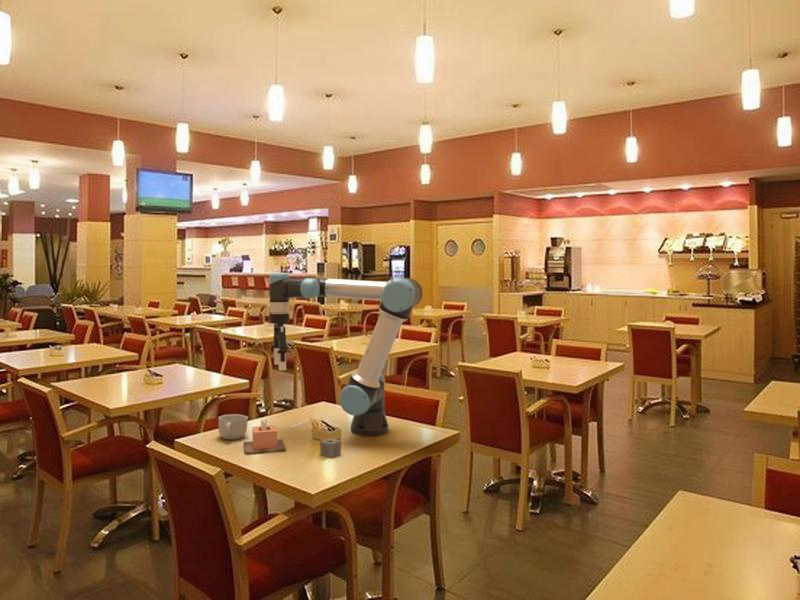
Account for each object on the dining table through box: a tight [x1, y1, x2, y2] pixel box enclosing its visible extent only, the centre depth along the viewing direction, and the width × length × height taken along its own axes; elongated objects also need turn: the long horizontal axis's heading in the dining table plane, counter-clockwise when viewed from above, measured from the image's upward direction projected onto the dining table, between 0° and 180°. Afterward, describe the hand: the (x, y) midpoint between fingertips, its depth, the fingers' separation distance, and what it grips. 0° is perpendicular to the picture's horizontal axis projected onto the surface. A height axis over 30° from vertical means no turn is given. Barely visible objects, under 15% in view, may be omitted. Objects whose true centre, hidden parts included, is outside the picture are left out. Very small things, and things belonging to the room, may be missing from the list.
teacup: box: [218, 413, 249, 441], centre depth 221 cm, size 14×11×8 cm
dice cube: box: [319, 437, 342, 459], centre depth 203 cm, size 5×5×5 cm
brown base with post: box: [243, 419, 287, 456], centre depth 210 cm, size 14×12×10 cm
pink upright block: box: [251, 424, 278, 449], centre depth 210 cm, size 8×8×6 cm
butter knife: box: [288, 419, 309, 429], centre depth 249 cm, size 1×27×3 cm
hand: (280, 367), depth 227 cm, fingers open, 13 cm apart
